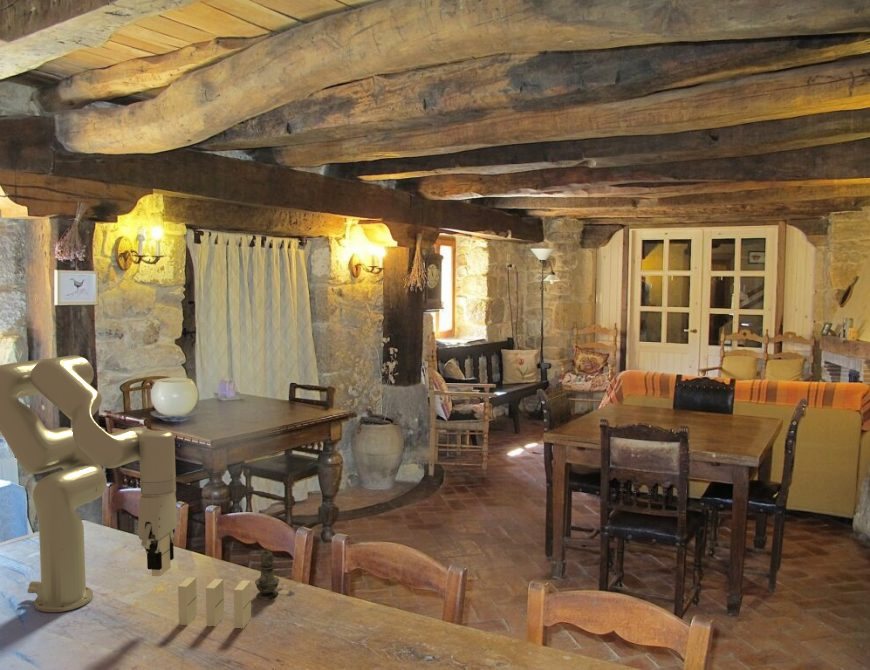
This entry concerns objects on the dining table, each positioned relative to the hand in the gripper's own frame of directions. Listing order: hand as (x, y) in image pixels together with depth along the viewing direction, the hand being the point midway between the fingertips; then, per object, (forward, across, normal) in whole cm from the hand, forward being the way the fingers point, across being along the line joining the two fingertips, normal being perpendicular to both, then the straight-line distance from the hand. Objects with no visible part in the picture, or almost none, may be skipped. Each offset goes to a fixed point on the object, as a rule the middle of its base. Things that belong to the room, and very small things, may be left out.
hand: (160, 563), depth 169 cm
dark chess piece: (+13, -15, +20) cm, 28 cm away
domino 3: (+13, 0, +13) cm, 18 cm away
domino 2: (+13, 0, +6) cm, 14 cm away
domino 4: (+13, 0, +19) cm, 23 cm away
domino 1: (+2, 0, 0) cm, 2 cm away
